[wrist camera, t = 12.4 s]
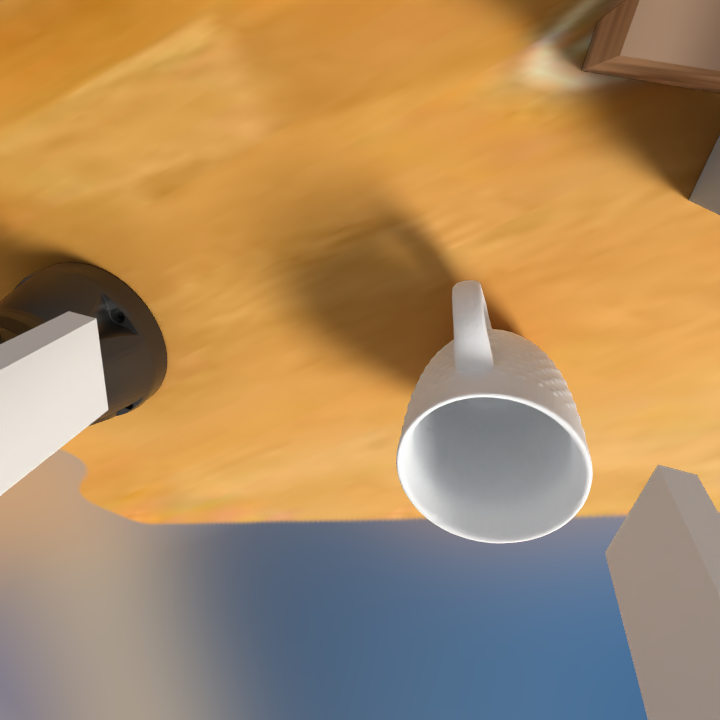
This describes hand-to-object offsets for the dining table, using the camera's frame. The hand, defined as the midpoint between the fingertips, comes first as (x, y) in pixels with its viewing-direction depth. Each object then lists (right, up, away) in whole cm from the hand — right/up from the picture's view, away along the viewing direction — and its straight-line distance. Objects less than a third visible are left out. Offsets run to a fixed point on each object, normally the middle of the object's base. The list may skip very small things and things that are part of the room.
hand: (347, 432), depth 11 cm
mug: (+11, +2, +27) cm, 29 cm away
